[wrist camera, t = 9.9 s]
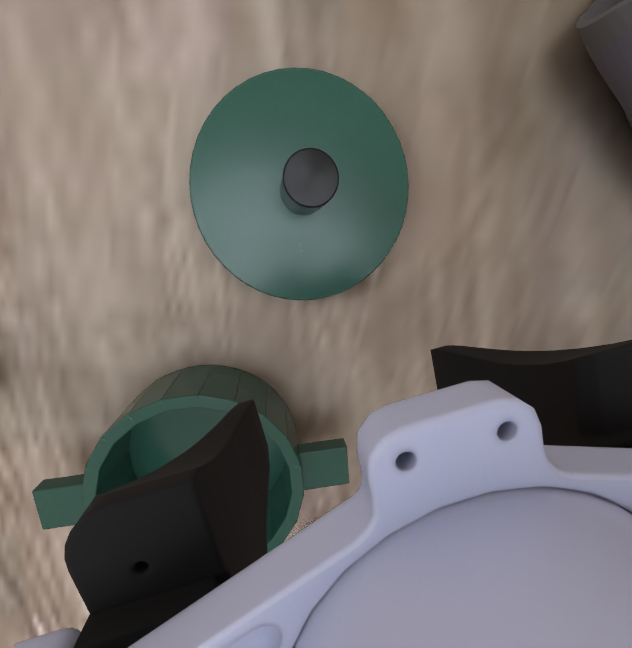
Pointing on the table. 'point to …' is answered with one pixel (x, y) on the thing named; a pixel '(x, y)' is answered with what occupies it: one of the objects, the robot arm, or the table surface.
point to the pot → (186, 430)
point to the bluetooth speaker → (611, 45)
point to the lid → (298, 183)
